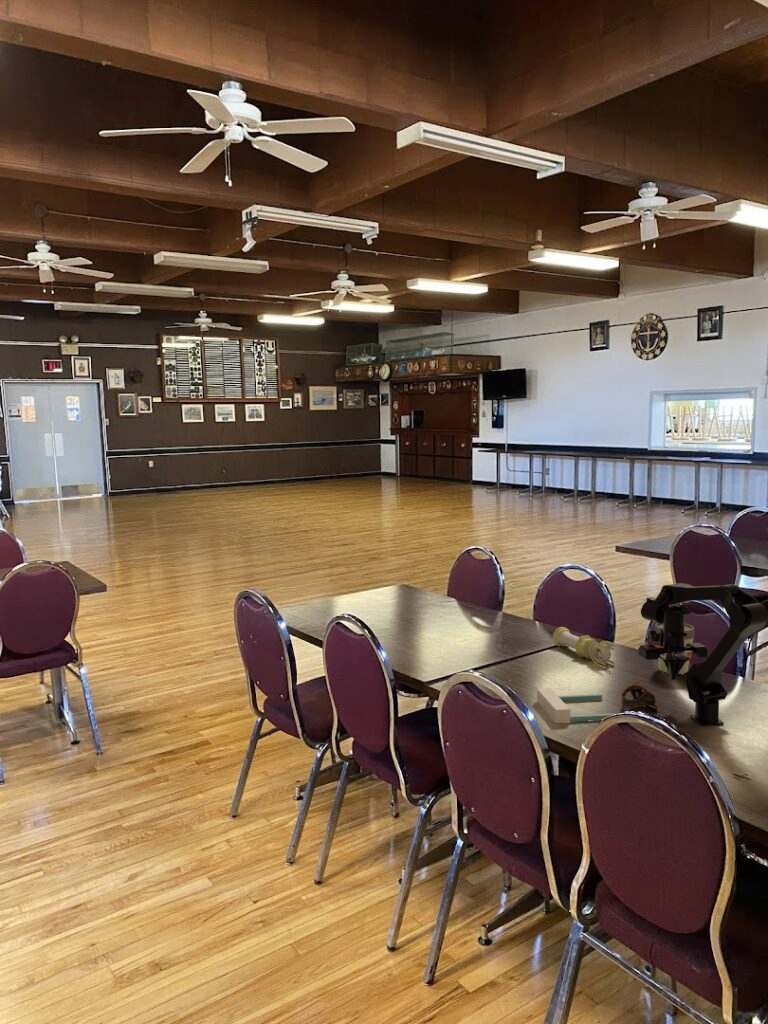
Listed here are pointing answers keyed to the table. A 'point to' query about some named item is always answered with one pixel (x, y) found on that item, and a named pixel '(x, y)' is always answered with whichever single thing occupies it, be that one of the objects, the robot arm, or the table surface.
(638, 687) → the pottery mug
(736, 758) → the table surface
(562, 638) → the trophy
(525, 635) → the table surface
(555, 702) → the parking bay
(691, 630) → the reusable coffee cup
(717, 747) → the table surface
